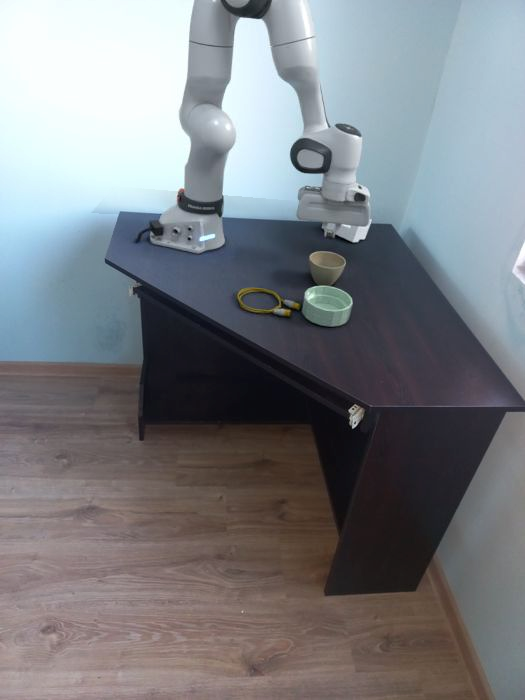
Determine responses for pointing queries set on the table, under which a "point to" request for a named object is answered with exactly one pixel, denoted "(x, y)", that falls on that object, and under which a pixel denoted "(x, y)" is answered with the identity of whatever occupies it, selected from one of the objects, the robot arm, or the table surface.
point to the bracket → (350, 231)
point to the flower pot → (326, 267)
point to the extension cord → (275, 310)
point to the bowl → (327, 306)
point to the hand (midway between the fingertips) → (329, 236)
